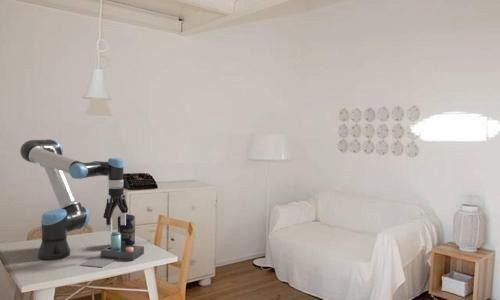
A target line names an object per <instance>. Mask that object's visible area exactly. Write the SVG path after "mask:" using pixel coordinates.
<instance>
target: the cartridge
mask: <svg viewBox="0 0 500 300" xmlns="http://www.w3.org/2000/svg"><path fill="white" fill-rule="evenodd" d="M110 245H111V249H113V250H119V249H121V234H120V232H118V231H111V234H110Z"/></svg>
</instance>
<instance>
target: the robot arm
mask: <svg viewBox="0 0 500 300" xmlns="http://www.w3.org/2000/svg"><path fill="white" fill-rule="evenodd" d="M63 148H64V147H63V146H62V145H61V143H60V141H58V140H55V139H50V138H49V139H47V138H46V139H30V140H27V141H25V142H24V143H23V144H22V145H21V146H20V151H19V153H20V154H19V155H20V156H21V157H22V159H24V160H25V161H26V162H29V163H31V164H39V166H40V167H42V168H44V170H45V172H46V175H47V177H48V180H49V182H50V184H51V187H52V190H53V192H54V195H55V198H56V200H57V202H58V205H59V208H55V209H50V210H47V211H45V212H44V213H43V214H42V215H41V221H40V223H41V244H40V246H39V250H38V252H37V257H38V259H39V260H43V261H45V260H46V261H51V260H53V261H54V260H55V261H56V260H61V259H64V258H68V256H70V255H71V248H70V246H69V243H68V240H67V237H68V235H67V233H70V232H73V231H76V230H80V229H83V228H85V227H86V226H87V225H88V224H89V222H90V217H91V216H90V215H91V214H90V211H89V209H88V208H87V207H85V206H82V204H81V202H80V201H78V200H76V198H75V194H74V192H73V189H72V187H71V185H70V183H69V180H68V177H67V175H66V174H69V176H70V177H71V178H72V179H76V180H81V179H86V178H93V177H94V178H95V177H101V176H102V177H103V176H104V177H107V179H108V181H107V182H108V183H107V185H108V186H107V187H109V188H108V196H110V198H106V205H105V209H104V213H103V217H102V218H104V219H106V220H105V222H106V223H105V224H106V231H107V232H113V217H112V216H113V213H114V211H115V208H117V207H118V209H119V211H120V215H119V216H120V219H121V225H126V214H128V211H129V207H128V204H127V200H126V195H125V194H124V193H125V192H124V167H125V166H124V159H123V158H121V157H110V158H108V159H107V161H100V160H93V161H90V162H82V161H79V160H76V159H73V158H71V157H67V156H65V155H64V153H63V152H64V149H63Z"/></svg>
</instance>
